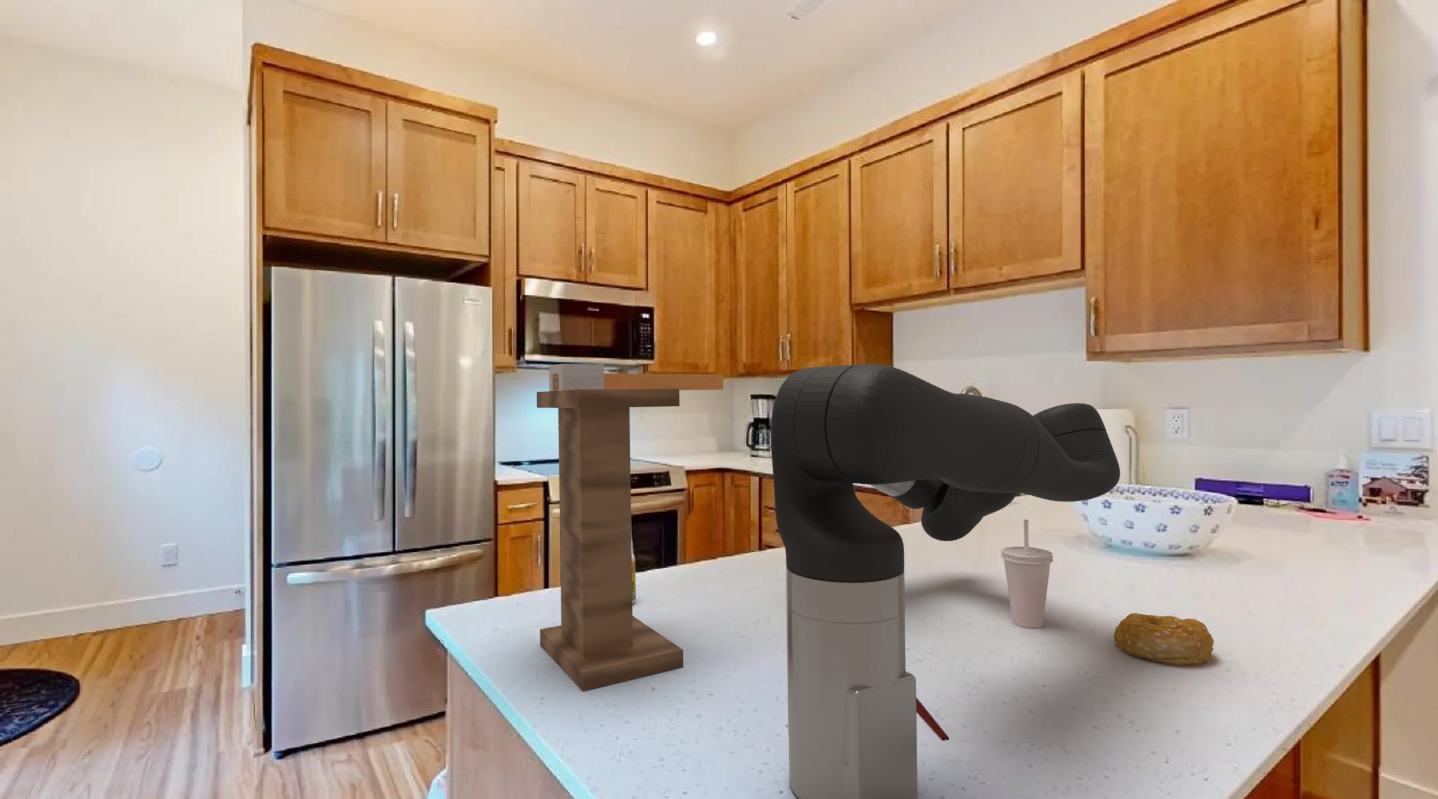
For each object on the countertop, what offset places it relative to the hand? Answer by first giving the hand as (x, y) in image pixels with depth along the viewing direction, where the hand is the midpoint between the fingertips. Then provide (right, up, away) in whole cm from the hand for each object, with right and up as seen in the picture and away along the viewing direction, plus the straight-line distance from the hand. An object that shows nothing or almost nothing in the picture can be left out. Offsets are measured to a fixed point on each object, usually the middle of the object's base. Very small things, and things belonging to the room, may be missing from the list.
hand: (807, 411), depth 95 cm
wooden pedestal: (-26, -29, -14) cm, 41 cm away
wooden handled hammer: (-22, +3, -11) cm, 25 cm away
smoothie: (+29, -29, -4) cm, 41 cm away
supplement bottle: (-28, -29, +7) cm, 41 cm away
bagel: (+40, -29, -14) cm, 52 cm away
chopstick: (+7, -29, -23) cm, 38 cm away
